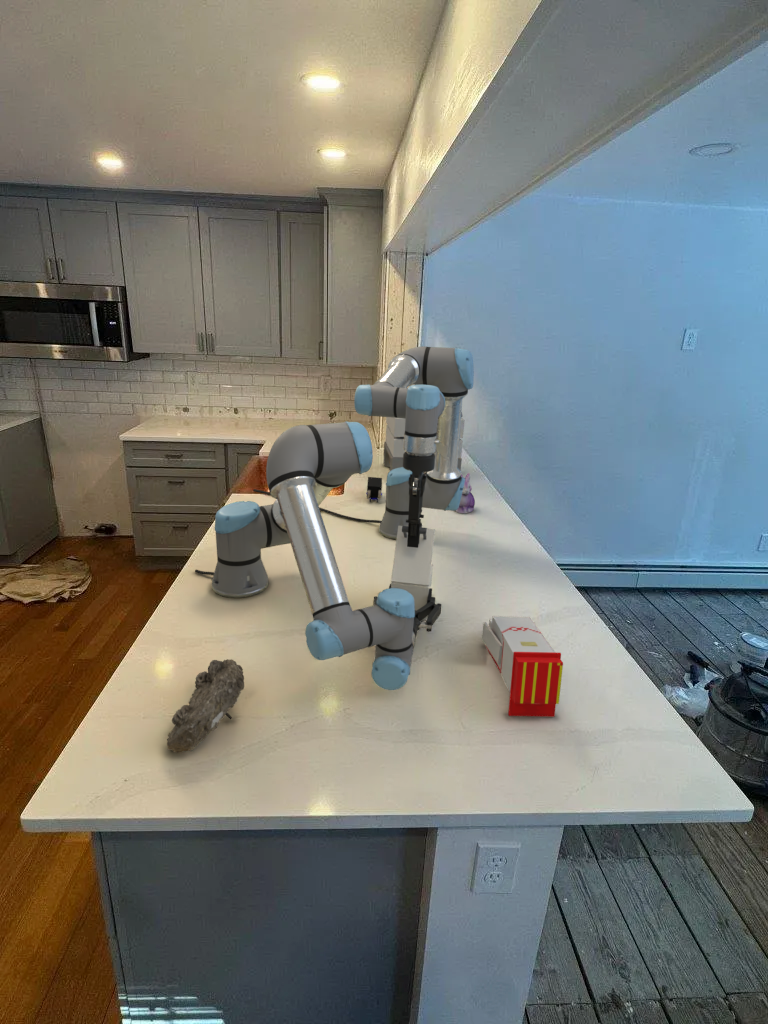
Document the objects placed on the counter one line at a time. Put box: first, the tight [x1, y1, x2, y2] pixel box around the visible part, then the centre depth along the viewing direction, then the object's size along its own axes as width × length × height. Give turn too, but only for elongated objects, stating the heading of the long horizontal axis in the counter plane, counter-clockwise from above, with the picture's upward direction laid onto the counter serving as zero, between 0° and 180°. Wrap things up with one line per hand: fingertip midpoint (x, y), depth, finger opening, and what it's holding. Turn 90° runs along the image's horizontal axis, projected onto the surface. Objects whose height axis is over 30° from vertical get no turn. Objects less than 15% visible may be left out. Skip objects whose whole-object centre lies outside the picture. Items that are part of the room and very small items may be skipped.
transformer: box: [383, 411, 465, 472], centre depth 268 cm, size 34×33×41 cm
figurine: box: [455, 472, 476, 514], centre depth 224 cm, size 9×10×15 cm
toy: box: [481, 615, 564, 718], centre depth 123 cm, size 12×13×30 cm
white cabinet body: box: [390, 563, 434, 622], centre depth 150 cm, size 14×10×10 cm
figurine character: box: [365, 476, 383, 503], centre depth 234 cm, size 7×8×15 cm
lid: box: [390, 526, 436, 586], centre depth 141 cm, size 15×10×8 cm
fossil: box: [166, 658, 245, 754], centre depth 106 cm, size 22×10×15 cm
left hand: (410, 590), depth 147 cm, fingers closed on white cabinet body, 9 cm apart
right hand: (413, 544), depth 141 cm, fingers closed on lid, 2 cm apart
